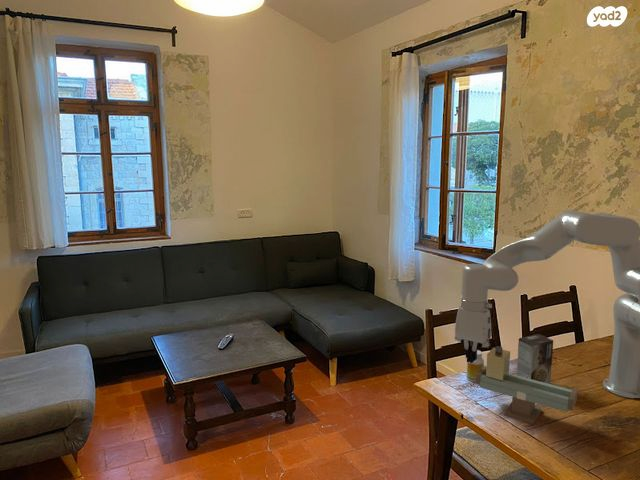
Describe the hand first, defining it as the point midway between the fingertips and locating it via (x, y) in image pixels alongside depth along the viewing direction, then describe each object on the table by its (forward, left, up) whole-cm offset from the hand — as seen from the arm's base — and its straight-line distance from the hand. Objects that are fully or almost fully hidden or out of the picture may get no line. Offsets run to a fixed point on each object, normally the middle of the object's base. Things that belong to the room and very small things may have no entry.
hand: (470, 360), depth 150 cm
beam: (-16, 0, -12) cm, 20 cm away
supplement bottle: (+3, -13, -12) cm, 18 cm away
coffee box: (-14, -20, -12) cm, 27 cm away
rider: (-8, 0, -4) cm, 9 cm away
